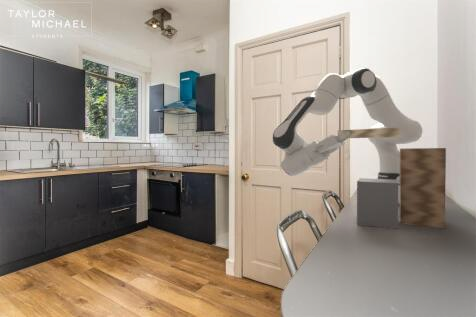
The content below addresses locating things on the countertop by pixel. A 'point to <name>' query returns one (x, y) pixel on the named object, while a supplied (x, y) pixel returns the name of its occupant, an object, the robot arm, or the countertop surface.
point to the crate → (377, 202)
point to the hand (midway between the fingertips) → (350, 132)
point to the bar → (373, 133)
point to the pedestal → (422, 186)
